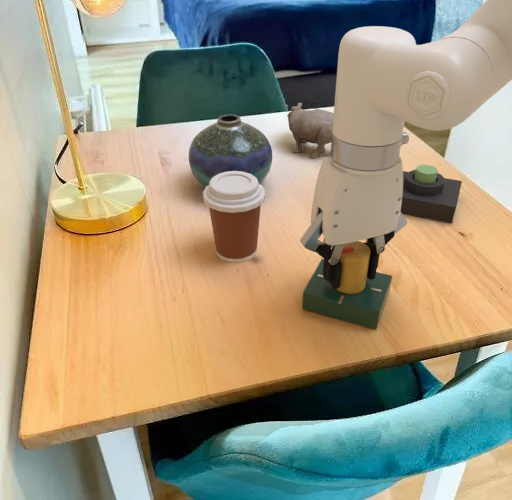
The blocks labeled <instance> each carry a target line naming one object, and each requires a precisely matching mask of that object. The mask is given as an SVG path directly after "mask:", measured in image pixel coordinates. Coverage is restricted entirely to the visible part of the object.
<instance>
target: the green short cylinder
mask: <svg viewBox="0 0 512 500" xmlns="http://www.w3.org/2000/svg"><path fill="white" fill-rule="evenodd" d="M415 170H416V171H415V176H414V180H416V181H418V182H420V183H426V184H429V183H434V182H435V181H436V177H437V173H439V170H438V168H437V167H436V166H433V165H430V164H420V165H417V166H416V167H415Z"/></svg>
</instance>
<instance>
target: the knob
mask: <svg viewBox="0 0 512 500" xmlns="http://www.w3.org/2000/svg"><path fill="white" fill-rule="evenodd" d="M369 258H370V248H369V247H368V246H367V245H366V244H364V242H362V241H361V240H359V241H355V242H350V243H346V244H344V247H343V250H342V253H341V255H340V258H339V261H340V262H341V263H342V272H341V281H340V287H339V288H337V290H338V291H340V292H343V293H347V294H355V293H359V292H361V291H362V290H363V289H364V288H365V286H366V279H367V272H368V265H369Z"/></svg>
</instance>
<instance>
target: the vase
mask: <svg viewBox="0 0 512 500" xmlns="http://www.w3.org/2000/svg"><path fill="white" fill-rule="evenodd" d="M216 121H217V122H215V123H212V124H210V125H208V126H207V127H205V128H204V129H202V130H200V131H199V132H198V133H197V134H196V135H195V136H194V138H193V140H192V141H191V143H190V146H189V149H188V163H189V167H190V170H191V172H192V175H193V176H194V178H195V180H196V181H198V183H199V184H200V185H201V186H202V187H204V189H205V188H206V187H207V186H208V185H209V182H210V180H211V179H212V178H213V177H214V176H216V175H218V174H220V173H223V172H228V171H242V172H246V173H249V174H252V175H253V176H254V177H256V178H257V180H258V182H259V184H260V185H262V183H263V182H264V180H265V179H266V178H267V176H268V175H269V173H270V171H271V167H272V164H273V148H272V145H271V143H270V141H269V139H268V137H267V136H266V135H265V134H264V133H263V132H262V131H260V130H259V129H258V128H256V127H254V126H253V125H250V124H249V123H247V122H243V121H242V119H241V117H240V116H239V115H237V114H232V113H231V114H228V113H227V114H222V115H219V116H218V117H217V120H216Z"/></svg>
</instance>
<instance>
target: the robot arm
mask: <svg viewBox="0 0 512 500" xmlns="http://www.w3.org/2000/svg"><path fill="white" fill-rule="evenodd" d="M337 56H338V57H337V67H336V68H337V69H336V80H335V92H334V105H333V106H334V107H333V113H334V118H333V131H332V142H331V144H330V156H329V155H328V156H325V157H324V158H323V159H322V162H321V165H320V168H319V171H318V174H317V178H316V182H315V188H314V194H313V200H312V207H311V216H310V217H311V218H310V225H309V226H308V228H307V229H306V231H305V232H304V233H303V235H302V236H301V238H300V239H299V240H300V241H299V242H300V244H301V245H302V246H303V247H304V249H306V250H308V251H310V252H313V253H316V254H317V255H319V256H320V257H321V258H322V259H324V262H323V277H324V279H325V280H326V281H328V282H329V283H330V284H331V285H332V287H333V288H334V289H337V288H339V287H340V281H341V272H342V263H341V262H340V261H339V258H340V255H341V253H342V250H343V247H344V244H346V243H350V242H355V241H363V240H365V241H363V243H364V244H366V245H367V246H368V247H369V248H370V258H369V265H368V272H367V277H368V279H370V280H372V279H375V276H376V272H377V269H378V267H379V260H380V255H381V254H383V253H384V252H385V250H386V245H387V244H388V243H389V242H390V241H391V240H392V239H393V238H394V237H395V234H397V233H398V232H400V231H401V230H402V229H403V228H405V227H406V226H407V224H408V221H407V219H406V217H405V216H404V214H402V213H401V204H402V194H403V171H404V168H403V160H402V158H401V157H400V154H401V147H402V146H403V145H407V144H408V143H409V141H410V136H409V134H408V132H406V131H404V128H405V123H408V124H410V125H412V126H414V127H417V128H419V129H423V130H427V131H436V132H437V131H438V132H439V131H446V130H447V131H448V130H451V129H453V128H455V127H458V126H459V125H460V124H462V123H464V122H465V121H466V120H468V119H469V118H470V117H471V116H472V115H473V114H474V113H476V111H478V110H479V109H480V108H481V107H482V106H483V105H484V104H485V103H486V102H488V101H489V100H490V99H491V98H492V97H494V95H496V94H497V93H499V91H500V90H502V89H503V88H505V86H506V85H508V83H510V82H511V81H512V0H485V1H484V2H483V3H482V4H481V5H480V6H479V7H478V8H477V9H476V10H475V11H474V12H473V13H472V14H471V15H470V16H469V17H468V18H467V20H465V21H464V22H463V23H462V24H461V25H460V26H459V27H458V28H457V29H456V30H454V31H453V32H451V33H449V34H447V35H445V36H443V37H441V38H440V39H437V40H434V41H431V42H426V43H423V44H417V42H416V39H415V37H414V36H413V35H412V34H411V33H410V32H409V31H407V30H404V29H402V28H398V27H392V26H383V25H380V26H379V25H378V26H377V25H369V26H361V27H356V28H354V29H350V30H349V31H347V32H346V33H345V34H344V35H343V36H342V38H341V40H340V43H339V48H338V55H337ZM322 235H323V236H324V237H323V240H322V241H321V240H319V239H320V237H321V236H322Z"/></svg>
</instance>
